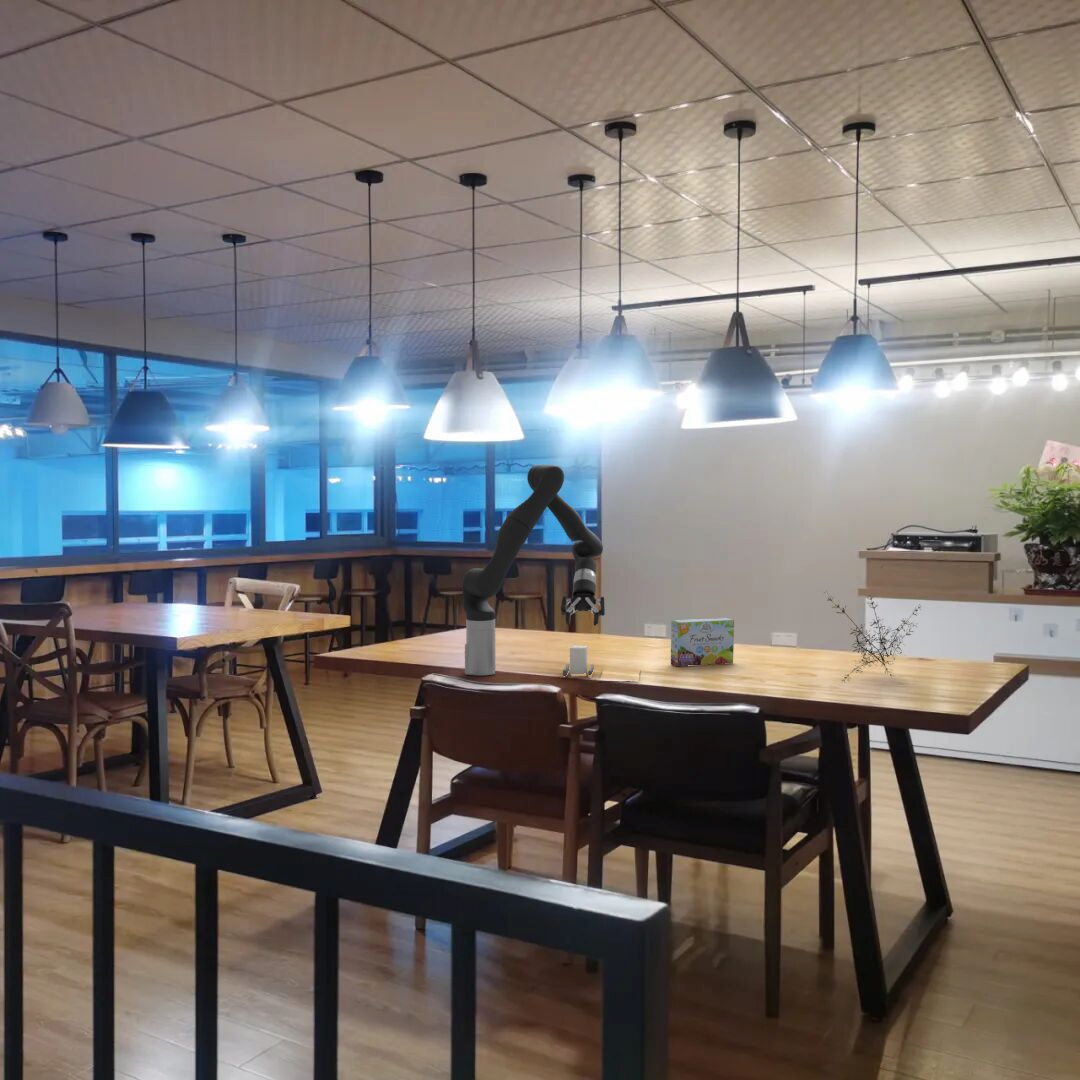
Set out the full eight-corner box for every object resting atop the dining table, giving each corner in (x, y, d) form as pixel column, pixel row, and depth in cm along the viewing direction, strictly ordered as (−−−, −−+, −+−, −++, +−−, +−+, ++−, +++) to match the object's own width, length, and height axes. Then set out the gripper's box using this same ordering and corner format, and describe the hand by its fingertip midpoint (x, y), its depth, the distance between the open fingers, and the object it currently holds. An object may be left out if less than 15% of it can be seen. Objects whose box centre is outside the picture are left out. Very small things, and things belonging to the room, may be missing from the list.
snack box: (678, 667, 345) (678, 621, 344) (670, 665, 350) (670, 619, 350) (734, 663, 353) (734, 618, 352) (725, 661, 358) (725, 616, 358)
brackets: (563, 678, 325) (563, 670, 325) (566, 671, 337) (566, 664, 337) (590, 679, 324) (590, 670, 324) (593, 672, 336) (593, 664, 336)
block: (569, 676, 328) (569, 647, 328) (571, 674, 333) (571, 645, 333) (586, 677, 328) (585, 648, 327) (587, 674, 333) (587, 645, 332)
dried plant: (850, 614, 342) (820, 564, 305) (951, 628, 326) (933, 578, 289) (831, 704, 334) (798, 665, 297) (934, 723, 318) (913, 684, 281)
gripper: (562, 578, 351) (558, 616, 340) (605, 578, 349) (603, 617, 338) (564, 592, 356) (560, 630, 345) (606, 592, 354) (604, 631, 343)
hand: (581, 623), depth 342 cm, fingers open, 8 cm apart
